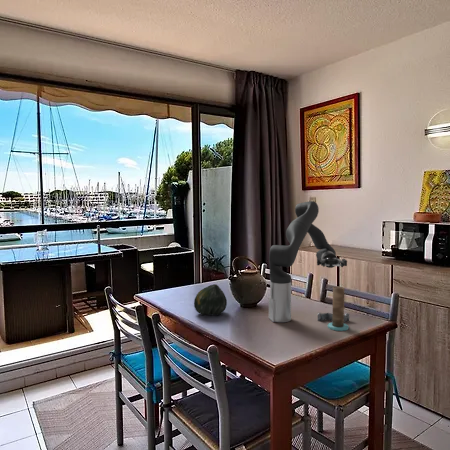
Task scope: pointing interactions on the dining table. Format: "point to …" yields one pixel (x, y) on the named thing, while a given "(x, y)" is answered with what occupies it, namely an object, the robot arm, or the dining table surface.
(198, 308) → the squash
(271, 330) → the dining table surface
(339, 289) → the walnut peg
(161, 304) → the dining table surface
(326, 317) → the zigzag rail
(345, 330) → the teal pad
